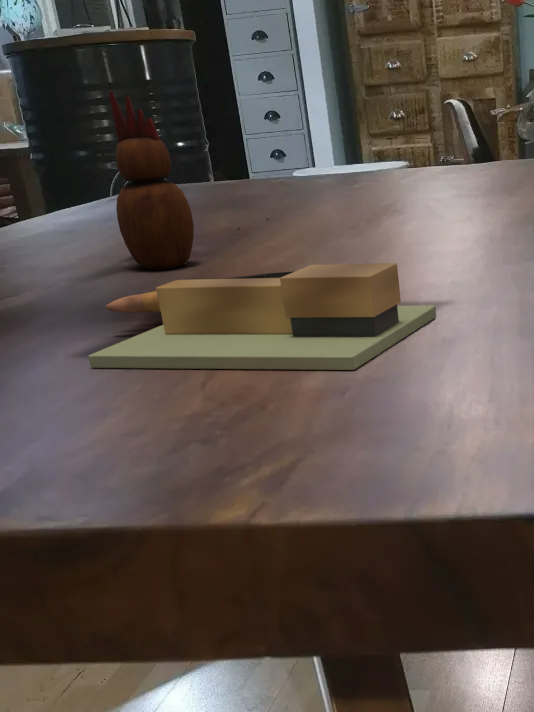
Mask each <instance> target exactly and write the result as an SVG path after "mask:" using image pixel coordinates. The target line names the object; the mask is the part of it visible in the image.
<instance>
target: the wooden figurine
mask: <svg viewBox="0 0 534 712" xmlns="http://www.w3.org/2000/svg"><path fill="white" fill-rule="evenodd" d="M108 95H109V101H110V106H111V112H112V117H113V121H114V127H115V131H116V135H117V140H118V143H117V145H116V148H115V161H116V166H117V170H118V173H119V175H120V176H121V178H123V179H124V180H125V181H127V183H126V184H125V185H124V186H122V187H121V188H120V190H119V192H118V195H117V197H116V208H115V209H116V218H117V223H118V228H119V231H120V234H121V236H122V237H121V238H122V239H123V242H124V244H125V246H126V248H127V250H128V252H129V254H130V255H131V257H132V258H133V260H134V261H135V263H136V264H137V265H139V266H141V267H142V268H145V269H148V270H152V271H154V270H155V271H156V270H158V271H159V270H168V269H169V270H170V269H175V268H178V267H181V266H182V265H185V264H186V263H187V262H188V260H189V259H190V258H191V254H192V251H193V244H194V238H195V237H194V236H195V235H194V231H195V229H194V228H195V227H194V226H195V224H194V218H193V214H192V210H191V207H190V204H189V201H188V199H187V197H186V195H185V193H184V192H183V190H182V189H181V188H180V187H179V186H178V185H177V184H175V183H174V182H171V181H169V180H164V179H166V178H168V177H169V175H170V174H171V170H172V162H171V161H172V160H171V157H170V153H169V150H168V147H166V145H165V142H164V141H162V139H160V136H159V134H158V130H157V127H156V125H155V123H154V120H153V118H152V117H147V119H146V118H145V115H144V111H143V109H142V108H140V109H139V108H138V109H137V115H136V114H135V113H136V112H135V110H134V107H133V103H132V101H131V98H130V96H125V113H126V114H125V115H126V117H125V115H124V113H123V112H122V109H121V107H120V105H119V103H118V100H117V99H116V96H115V94H114V92H112V91H110V92H108ZM128 182H129V183H128Z"/></svg>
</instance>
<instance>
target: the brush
mask: <svg viewBox="0 0 534 712" xmlns="http://www.w3.org/2000/svg"><path fill="white" fill-rule="evenodd" d="M294 271H295V272H294ZM294 271H292V272H293V273H291V274H288V275H286V276H283V277H281V278H250V279H226V278H205V279H203V278H202V279H200V278H199V279H176V280H173V281H170V282H167V283H165V284H161V285H159V286H156V287H155V291H157V296H158V301H159V306H160V311H161V312H160V314H161V315H160V316H161V319H162V320H161V321H162V325H164V330H165V334H293V336H294V337H375V336H377V335H378V334H380V333H382V332H383V331H385V330H386V329H388V328H390V327H391V326H393V325H395V324H396V323H398V322H399V318H398V308H397V306H398V304H400V303H401V302H402V301H401V300H402V299H401V290H400V279H399V269H398V263H397V262H385V263H384V262H383V263H381V262H380V263H342V264H341V263H339V264H310V265H307V266H305V267H303V268H301V269H298V270H294Z"/></svg>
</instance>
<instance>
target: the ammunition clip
mask: <svg viewBox="0 0 534 712" xmlns="http://www.w3.org/2000/svg"><path fill="white" fill-rule="evenodd" d="M295 271H296V270H293V271H282V272H280V271H279V272H268V273H260V274H250V275H243V276H235V277H228V278H225V279H250V278H281V277H283V276H286V275H288V274H291V273H293V272H295ZM105 309H106V310H107V311H111V312H115V313H121V314H122V313H124V314H136V313H139V314H140V313H153V312H155V313H156V312H159V313H161V311H160V306H159V301H158V296H157V291H156V290H154V291H149V292H144V293H143V292H142V293H139V294H132V295H128V296H124V297H120V298H118V299H115V300H112V301H110V302H109V303H108V304H106V305H105Z"/></svg>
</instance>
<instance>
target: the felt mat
mask: <svg viewBox="0 0 534 712" xmlns="http://www.w3.org/2000/svg"><path fill="white" fill-rule="evenodd" d="M397 308H398V318H399V322H398V323H396V324H395V325H393V326H391V327H390V328H388V329H386V330H385V331H383V332H382V333H380V334H378V335H377V336H375V337H294V336H293V334H165V330H164V325H163V324H162V325H159V326H156V327H154V328H152V329H149V330H147V331H144V332H142V333H140V334H137V335H134V336H132V337H130V338H127V339H125V340H122V341H120V342H117V343H115V344H112V345H109V346H108V347H105V348H103V349H101V350H98V351H96V352H93V353H91V354H88V356H87V357H88V362H89V367H90V368H91V369H164V370H165V369H169V370H170V369H174V370H175V369H176V370H184V369H185V370H191V369H192V370H195V369H196V370H277V371H278V370H286V371H287V370H290V371H291V370H292V371H293V370H296V371H355V370H357V369H358V368H360V367H361V366H363V365H364V364H366V363H368V362H369V361H370V360H372V359H374V358H375V357H377V356H378V355H380V354H381V353H383V352H384V351H386V350H387V349H389V348H391V347H392V346H394V345H395V344H397V343H399V342H400V341H402V340H403V339H405V338H406V337H408V336H409V335H411V334H413V333H414V332H415V331H417V330H419V329H420V328H422V327H423V326H425V325H426V324H428V323H430V322H431V321H433V320H434V319H436V318H437V308H436V305H397Z"/></svg>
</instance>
